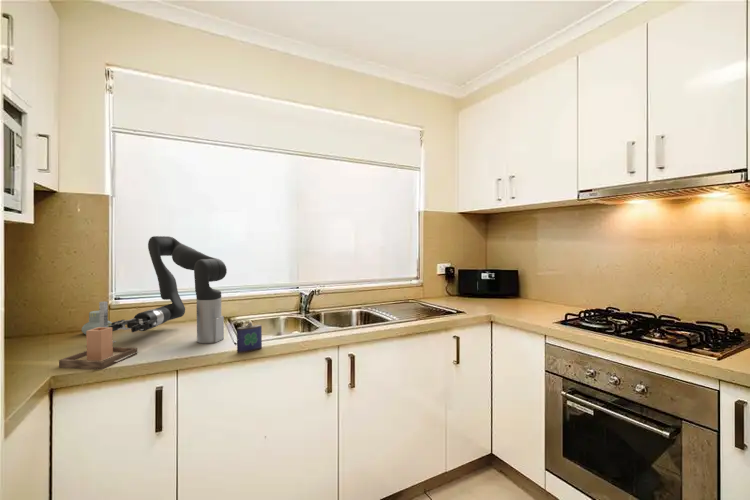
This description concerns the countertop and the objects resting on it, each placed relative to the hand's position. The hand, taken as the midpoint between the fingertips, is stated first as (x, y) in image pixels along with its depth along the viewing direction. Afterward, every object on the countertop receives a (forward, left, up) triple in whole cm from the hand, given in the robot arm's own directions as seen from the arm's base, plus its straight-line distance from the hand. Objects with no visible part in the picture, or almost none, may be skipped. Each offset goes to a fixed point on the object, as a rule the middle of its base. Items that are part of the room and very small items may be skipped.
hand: (120, 329), depth 133 cm
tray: (-1, +10, -8) cm, 13 cm away
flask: (-46, -8, -9) cm, 47 cm away
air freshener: (+28, -20, -9) cm, 36 cm away
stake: (+12, -6, -8) cm, 16 cm away
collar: (-1, +10, -7) cm, 12 cm away
